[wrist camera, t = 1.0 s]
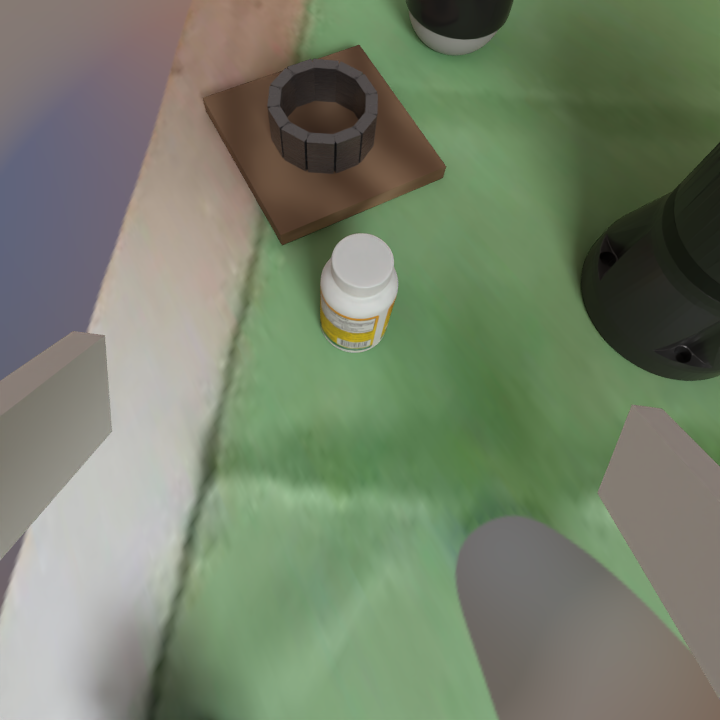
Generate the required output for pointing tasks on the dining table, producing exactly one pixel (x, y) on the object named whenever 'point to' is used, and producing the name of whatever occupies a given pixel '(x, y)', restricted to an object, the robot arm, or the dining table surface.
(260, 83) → the board
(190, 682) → the dining table surface
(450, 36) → the pump dispenser
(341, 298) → the supplement bottle
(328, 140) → the collar
